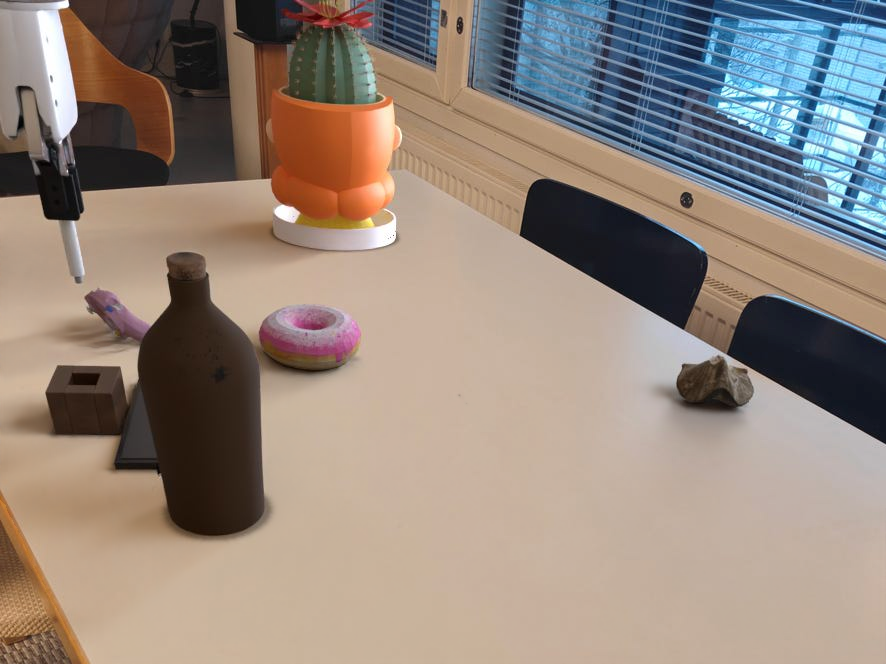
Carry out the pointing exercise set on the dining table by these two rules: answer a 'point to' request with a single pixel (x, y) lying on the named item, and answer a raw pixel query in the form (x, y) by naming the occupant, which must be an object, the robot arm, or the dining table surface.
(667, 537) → the dining table surface
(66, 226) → the stylus
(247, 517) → the rum bottle
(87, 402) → the pen holder
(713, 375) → the fossilized seashell
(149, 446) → the tablet
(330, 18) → the potted cactus
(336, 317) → the donut
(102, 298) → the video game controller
